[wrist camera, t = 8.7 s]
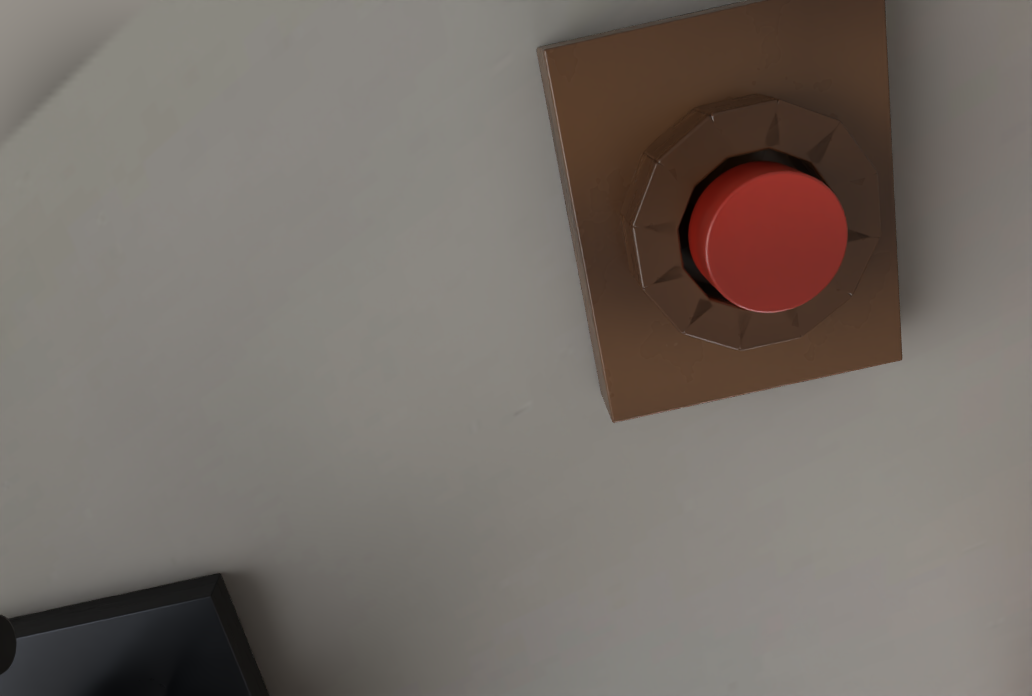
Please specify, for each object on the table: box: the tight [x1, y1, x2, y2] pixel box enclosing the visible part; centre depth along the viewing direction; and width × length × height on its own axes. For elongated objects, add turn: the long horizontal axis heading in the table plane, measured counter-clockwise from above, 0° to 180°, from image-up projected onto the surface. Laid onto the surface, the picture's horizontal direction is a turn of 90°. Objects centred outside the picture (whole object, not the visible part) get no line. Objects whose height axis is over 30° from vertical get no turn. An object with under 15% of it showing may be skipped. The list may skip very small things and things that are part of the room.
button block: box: [537, 0, 902, 423], centre depth 24 cm, size 11×9×4 cm
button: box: [688, 161, 848, 313], centre depth 22 cm, size 4×4×2 cm
